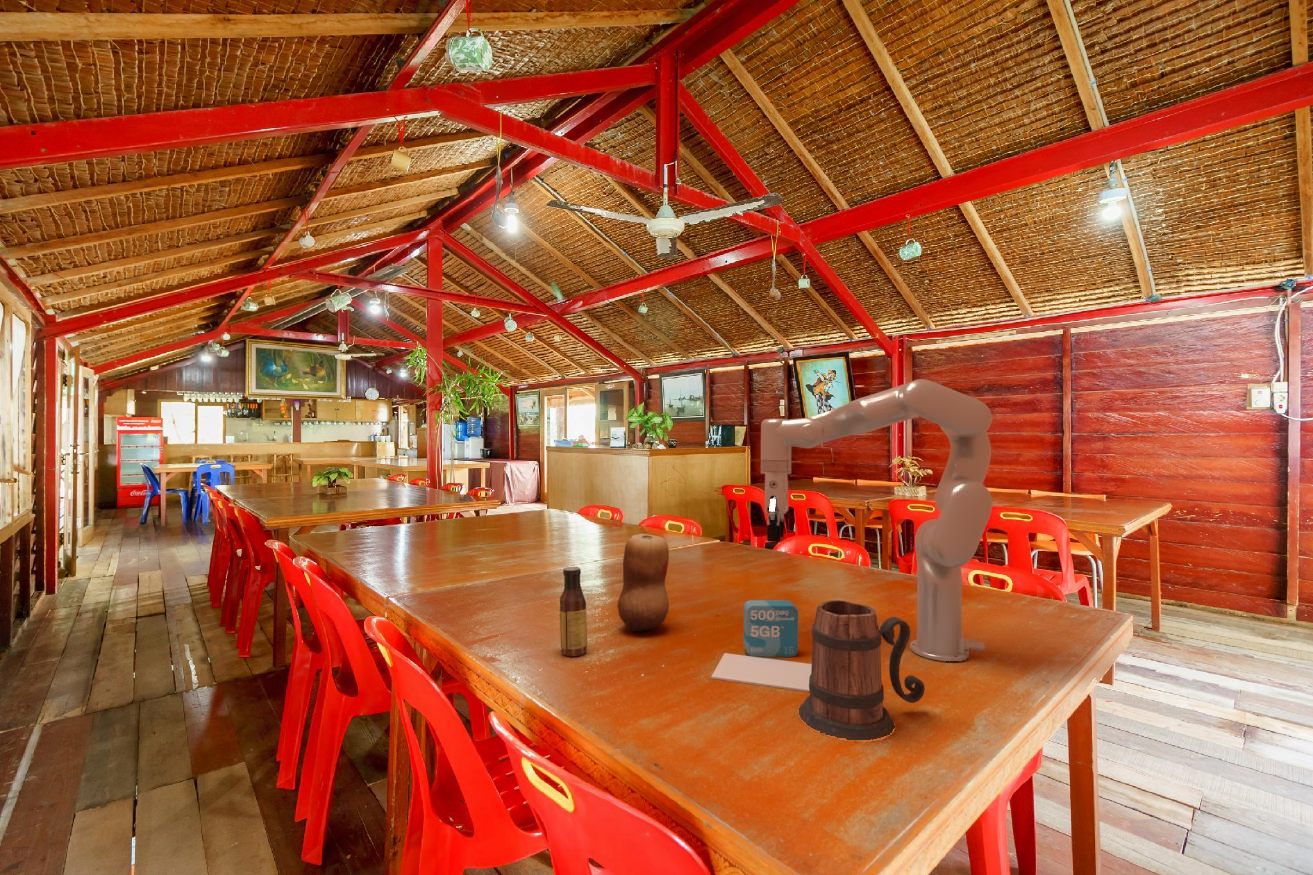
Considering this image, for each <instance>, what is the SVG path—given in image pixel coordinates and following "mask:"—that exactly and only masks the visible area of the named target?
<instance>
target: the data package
mask: <svg viewBox="0 0 1313 875" xmlns="http://www.w3.org/2000/svg"><path fill="white" fill-rule="evenodd" d="M743 647H744V648H745V651H746V653H747V656H751V657H759V658H793V657H795V656H796V655H797V654H798V650H799V649H798V648H799V610H798V609H797V607H796V606H795V605H794V603H793V602H792V601H791V600H779V599H778V600H771V599H770V600H769V599H768V600H763V599H761V600H759V599H757V600H747V601H746V602H745V603H744V605H743Z"/></svg>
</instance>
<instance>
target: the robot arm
mask: <svg viewBox="0 0 1313 875" xmlns="http://www.w3.org/2000/svg"><path fill="white" fill-rule="evenodd" d="M918 417H921V418H923V419H925V420H927V421H929V422H931V423H934V424H936V425H938V426H939V427H940V430H941V431H942V432H943V433H944V434H945V435H946V437H947V438H948V441H949V446H950V451H949V456H948V458H947V462H946V466H945V468H944V470H943V474H942V476H941V478H940V481H939V484H938V486H937V488H936V490H935V493H934V503H935V506H936V508H938V510H939V511H940V514H939V516H938V518H933V519H932V518H931V519H929V520H926V521H923V523H921V524H920V526H918V528H917V531H916V533H915V537H914V542H915V543H914V544H915V546H914V548H915V555H916V557H915V558H916V567H917V568H916V571H917V576H916V578H917V587H916V588H917V594H916V595H917V598H916V599H917V601H916V604H917V605H916V608H917V609H916V610H917V611H916V612H917V613H916V620H917V622H916V626H917V627H916V639H914V640H912V641H910V644H909V649H910V650H911V652H913V654H916V655H918V656H921V657H922V658H926V659H929V660H934V661H939V662H946V661H949V663H951V662H950V661H959V662H963V660H964V661H966V660H968V659H969V658H970V652H969V651H970V650H973V651H974V650H975V651H979V652H985V650H986V645H985V642H981V641H977V639H973V638H965V637H964V635H963V633H962V629H963V628H962V627H963V626H962V624H963V623H962V618H963V617H962V615H963V613H962V612H963V610H962V605H963V604H962V602H963V600H962V598H963V595H962V594H963V592H962V590H963V575H962V574H963V573H962V566H965V565H966V564H968V563H969V562H970V561H971V560H972V559H973V557H974V555H975V554H976V551H977V550H978V547H979V545H980V543H981V540H982V539H983V538H982V537H983V534H984V532H985V529H986V527H987V525H988V522H989V519H990V516H991V514H992V510H993V499H992V496H991V492H990V491H989V489H988V488H987V487H986V486H985V484H984V482H985V479H986V476H987V472H988V469H989V468H990V467H989V466H990V462H991V457H992V446H991V445H992V444H991V441H990V438H989V436H988V433H987V431H988V430H989V429H990V427H991V425H992V421H993V415H992V413H991V410H990V408H989V407H988V406H987V404H986V403H984V402H983V401H981V400H979V399H977V398H975V397H972V396H970V395H967V394H965V393H962V392H960V391H957V390H955V389H953V388H949V387H947V386H945V385H943V384H940V383H937V382H935V381H933V380H928V379H924V378H920V379H919V378H918V379H915V380H912V381H910V382H907V383H903V384H901V385H897V386H895V387H892V388H888V389H885V390H882V391H879V392H877V393H876V392H875V393H872V394H869V395H867V396H863V397H860V398H857V399H854V400H852V401H849V402H848V403H846V404H844V405H842V406H839V407H836V408H834V409H831V410H829V411H825V412H822V413H819V414H816V415H812V416H810V417H802V418H794V419H786V418H767V419H764V420H762V421H761V424H760V425H761V426H760V474H763V475H764V511H765V513H766V514H767V524H766V541H767V542H771V543H774V542H775V543H780V542H781V538H784V525H785V522H784V515H785V514H787V512H789V484H788V481H789V480H788V479H789V478H788V475H792V447H795V448H796V447H798V448H803V449H812V448H816V447H817V446H818V445H821V444H825V443H827V442H831V441H833V440H837V439H840V438H844V437H848V436H852V435H862V434H865V433H869V432H873V431H877V430H879V429H883V428H886V427H889V426H893V425H896V424H899V423H903V422H905V421H909V420H912V419H916V418H918ZM967 658H968V659H967Z"/></svg>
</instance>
